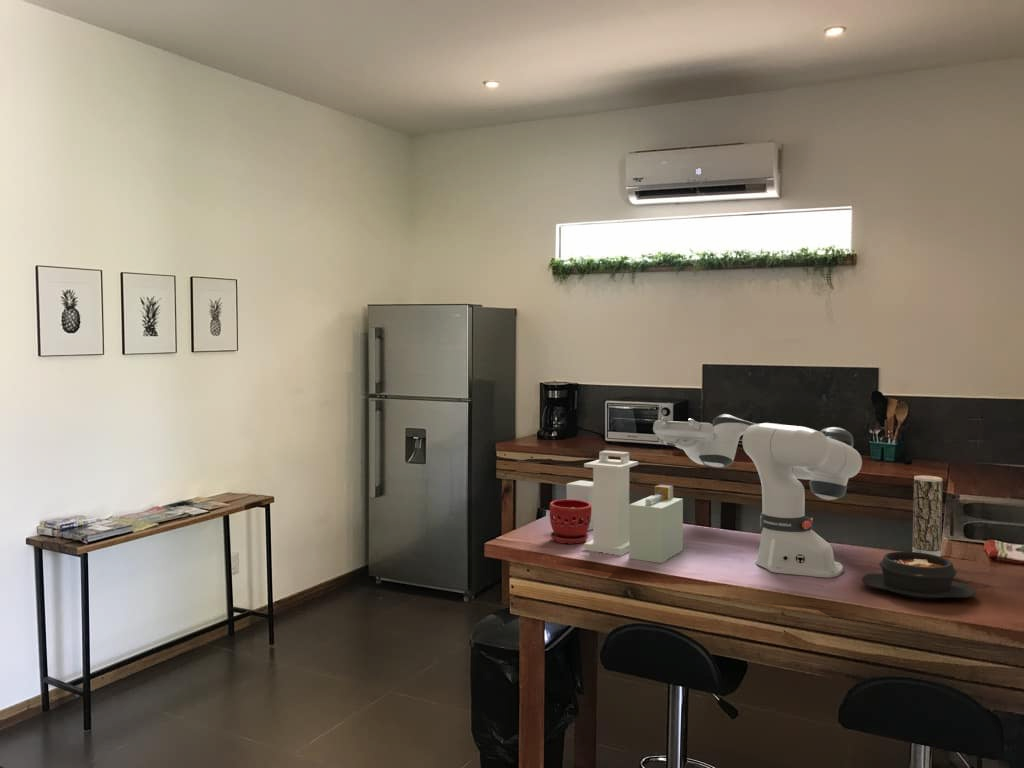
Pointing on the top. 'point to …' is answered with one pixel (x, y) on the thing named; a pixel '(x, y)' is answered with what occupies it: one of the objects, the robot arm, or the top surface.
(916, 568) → the casserole
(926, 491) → the bark pattern canister
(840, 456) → the robot arm
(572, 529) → the plant pot
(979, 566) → the top surface
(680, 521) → the pale green box
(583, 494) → the supplement box
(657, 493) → the brown block with handle
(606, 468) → the tall stand
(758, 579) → the top surface
